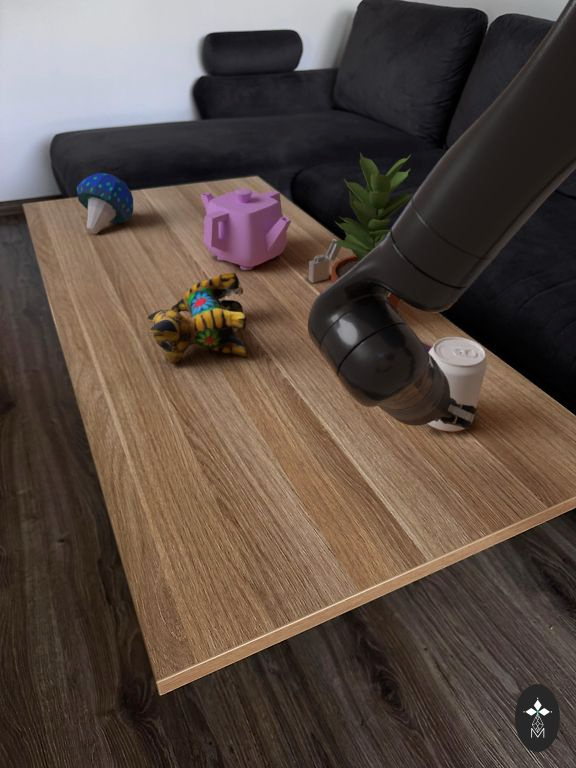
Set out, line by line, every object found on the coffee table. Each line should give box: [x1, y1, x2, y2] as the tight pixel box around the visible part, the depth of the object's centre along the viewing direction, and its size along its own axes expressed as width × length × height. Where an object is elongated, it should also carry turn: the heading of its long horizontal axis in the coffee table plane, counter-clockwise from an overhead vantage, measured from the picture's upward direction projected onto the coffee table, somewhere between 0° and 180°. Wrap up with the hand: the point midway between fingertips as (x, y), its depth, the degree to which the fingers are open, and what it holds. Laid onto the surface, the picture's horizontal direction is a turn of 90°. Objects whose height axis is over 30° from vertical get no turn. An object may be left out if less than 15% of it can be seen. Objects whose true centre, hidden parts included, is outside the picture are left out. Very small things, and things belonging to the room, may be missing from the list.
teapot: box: [200, 188, 292, 271], centre depth 129 cm, size 19×18×15 cm
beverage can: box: [426, 336, 488, 432], centre depth 85 cm, size 8×8×12 cm
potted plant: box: [329, 152, 416, 310], centre depth 104 cm, size 15×15×30 cm
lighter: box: [308, 238, 342, 284], centre depth 123 cm, size 7×2×8 cm, turn 121°
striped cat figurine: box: [146, 271, 248, 365], centre depth 103 cm, size 20×12×18 cm
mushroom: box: [76, 172, 134, 235], centre depth 144 cm, size 14×14×15 cm
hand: (435, 412), depth 78 cm, fingers closed
